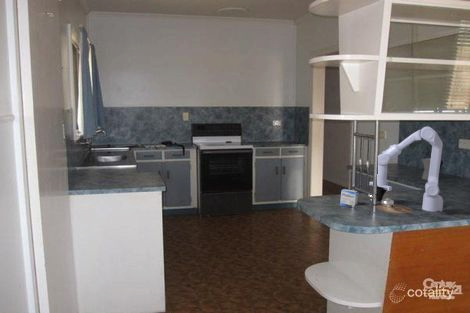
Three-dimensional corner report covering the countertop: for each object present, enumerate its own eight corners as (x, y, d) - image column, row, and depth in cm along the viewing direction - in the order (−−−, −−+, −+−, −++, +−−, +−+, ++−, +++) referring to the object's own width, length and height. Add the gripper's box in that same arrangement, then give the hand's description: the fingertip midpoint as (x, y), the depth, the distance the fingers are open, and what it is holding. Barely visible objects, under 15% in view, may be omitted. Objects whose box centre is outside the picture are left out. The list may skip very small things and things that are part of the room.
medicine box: (339, 205, 215) (341, 189, 213) (342, 204, 218) (343, 188, 217) (354, 208, 210) (355, 192, 209) (357, 206, 214) (358, 190, 213)
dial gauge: (371, 206, 215) (372, 193, 214) (376, 208, 212) (377, 195, 211) (365, 207, 214) (366, 194, 213) (370, 209, 210) (372, 195, 209)
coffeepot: (419, 179, 302) (421, 155, 299) (418, 177, 311) (420, 154, 308) (442, 181, 297) (444, 157, 294) (440, 179, 305) (443, 155, 303)
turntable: (394, 205, 219) (394, 203, 219) (421, 214, 203) (421, 211, 203) (368, 208, 212) (368, 205, 212) (394, 217, 196) (394, 214, 195)
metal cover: (387, 204, 216) (388, 196, 215) (395, 207, 210) (396, 199, 210) (378, 205, 213) (379, 197, 213) (387, 207, 208) (387, 200, 207)
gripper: (365, 174, 220) (363, 198, 222) (385, 179, 207) (383, 204, 209) (375, 173, 223) (373, 197, 225) (395, 178, 210) (393, 203, 212)
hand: (379, 201), depth 217 cm, fingers closed
